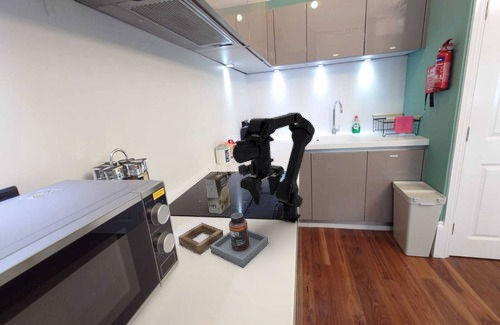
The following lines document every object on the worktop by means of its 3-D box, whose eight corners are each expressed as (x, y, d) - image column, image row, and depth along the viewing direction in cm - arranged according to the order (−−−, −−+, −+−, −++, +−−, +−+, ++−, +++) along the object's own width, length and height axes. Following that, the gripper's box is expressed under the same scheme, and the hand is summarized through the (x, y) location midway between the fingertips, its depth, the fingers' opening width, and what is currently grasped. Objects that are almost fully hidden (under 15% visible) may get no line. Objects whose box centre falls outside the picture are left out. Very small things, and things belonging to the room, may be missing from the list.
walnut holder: (203, 229, 88) (202, 222, 88) (223, 237, 82) (222, 230, 81) (179, 244, 80) (178, 236, 79) (200, 254, 73) (198, 246, 73)
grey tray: (237, 232, 84) (237, 226, 84) (268, 243, 76) (268, 236, 76) (210, 252, 74) (210, 245, 74) (243, 267, 66) (242, 260, 65)
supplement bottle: (245, 238, 79) (242, 209, 76) (252, 248, 74) (249, 216, 71) (229, 244, 77) (225, 213, 74) (235, 254, 71) (231, 221, 69)
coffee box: (221, 214, 100) (217, 179, 96) (209, 212, 102) (204, 178, 98) (230, 205, 108) (227, 173, 104) (218, 204, 110) (215, 172, 106)
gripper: (258, 149, 87) (261, 187, 91) (225, 161, 73) (230, 205, 77) (284, 151, 81) (285, 192, 85) (252, 164, 66) (256, 212, 70)
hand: (265, 199), depth 79 cm, fingers open, 9 cm apart
